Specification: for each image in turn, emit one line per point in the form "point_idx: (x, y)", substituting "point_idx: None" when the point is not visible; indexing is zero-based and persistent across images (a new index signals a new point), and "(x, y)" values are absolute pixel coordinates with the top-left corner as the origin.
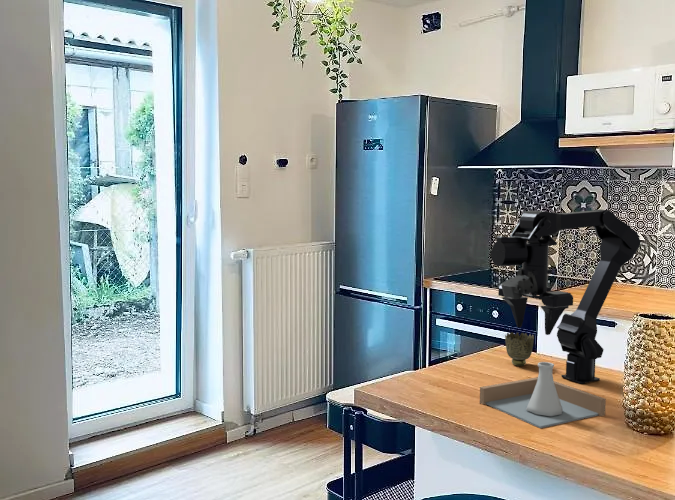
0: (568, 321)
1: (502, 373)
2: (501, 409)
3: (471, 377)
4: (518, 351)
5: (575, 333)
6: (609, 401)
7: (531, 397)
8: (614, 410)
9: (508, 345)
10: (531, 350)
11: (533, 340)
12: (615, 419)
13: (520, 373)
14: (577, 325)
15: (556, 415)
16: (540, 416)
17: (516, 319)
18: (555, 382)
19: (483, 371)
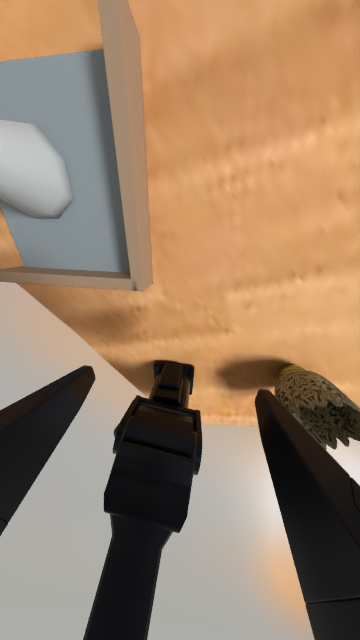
0: (157, 490)
1: (278, 310)
2: (60, 55)
3: (318, 219)
4: (293, 382)
5: (121, 441)
6: (82, 330)
7: (3, 120)
8: (48, 305)
9: (329, 387)
10: None
11: None
12: None
13: (252, 336)
14: (118, 474)
15: None
16: None
17: (284, 424)
18: (99, 282)
19: (322, 286)
